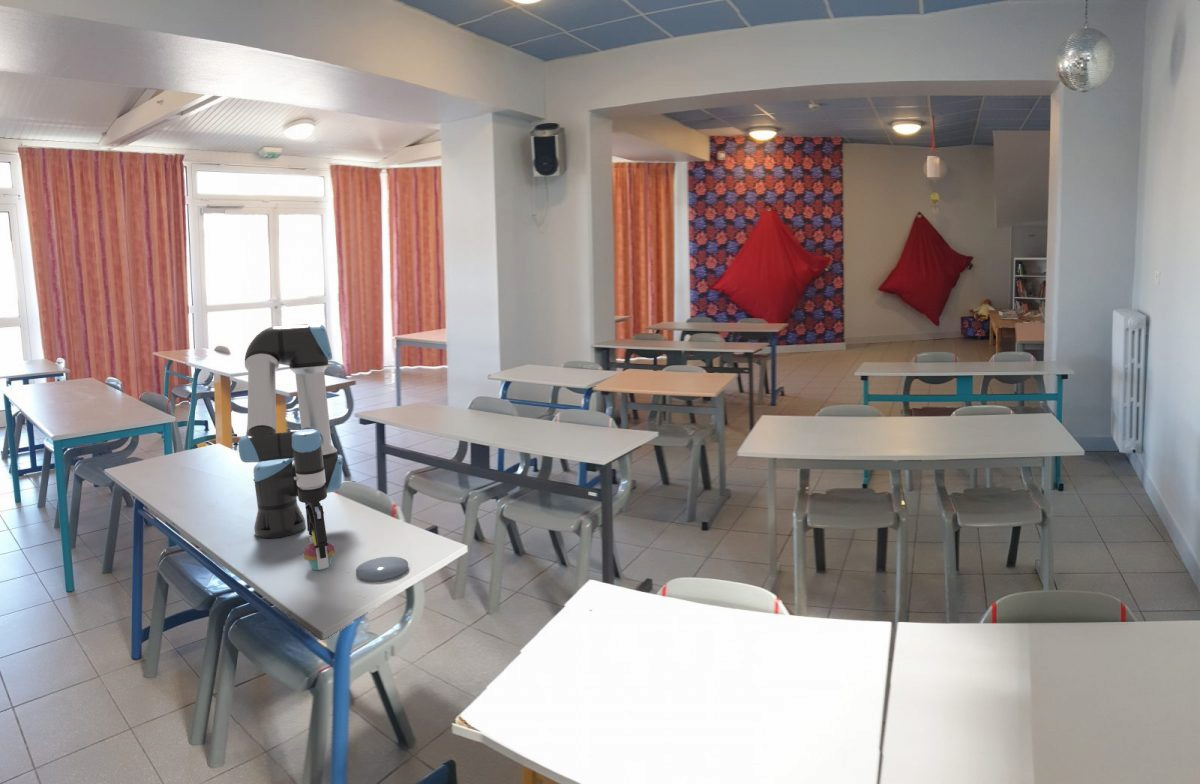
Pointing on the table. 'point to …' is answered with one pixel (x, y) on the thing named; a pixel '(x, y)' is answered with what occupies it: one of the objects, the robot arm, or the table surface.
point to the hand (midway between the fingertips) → (320, 562)
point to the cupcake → (312, 555)
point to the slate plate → (382, 569)
